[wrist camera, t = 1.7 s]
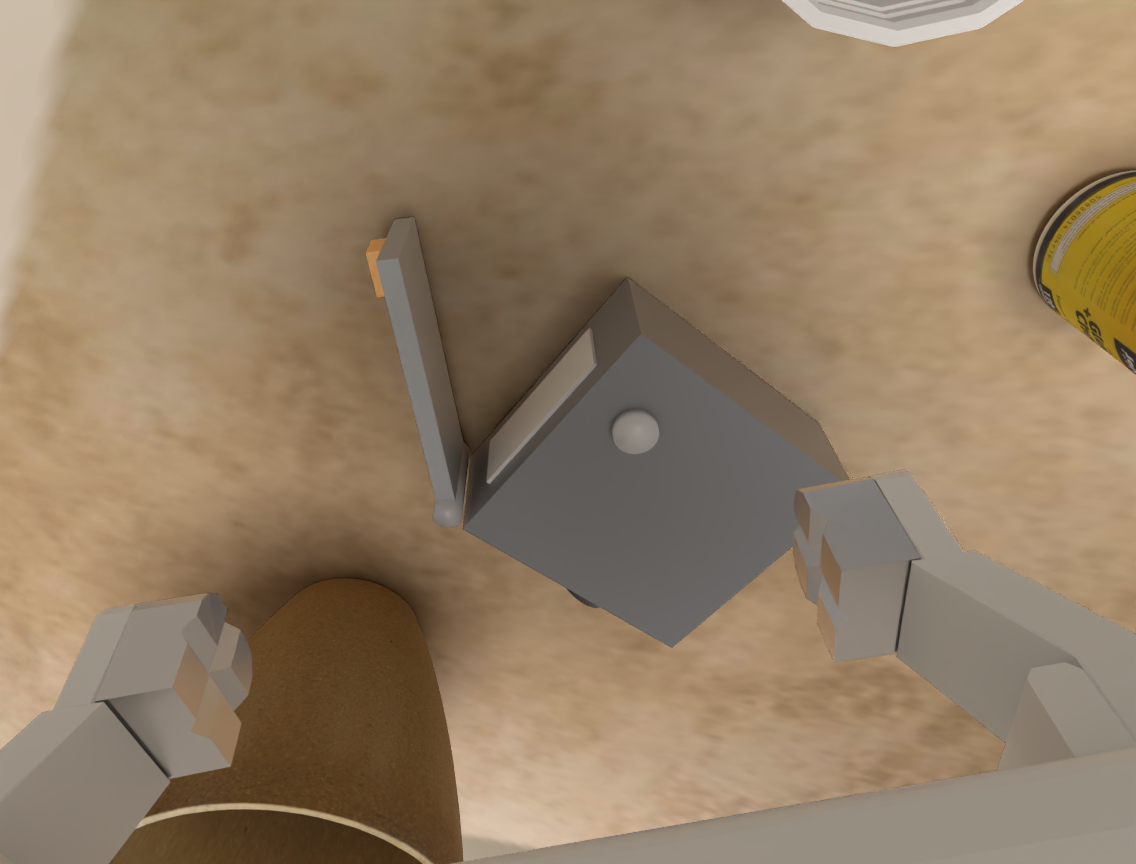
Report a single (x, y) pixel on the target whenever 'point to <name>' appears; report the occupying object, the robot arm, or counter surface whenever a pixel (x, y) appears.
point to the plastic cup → (899, 17)
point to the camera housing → (647, 470)
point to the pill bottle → (1094, 264)
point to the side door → (422, 363)
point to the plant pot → (323, 748)
